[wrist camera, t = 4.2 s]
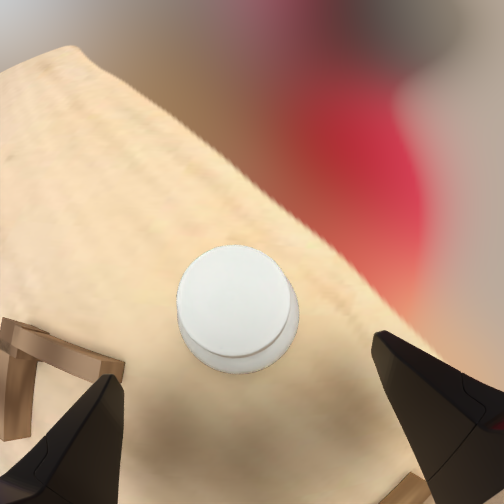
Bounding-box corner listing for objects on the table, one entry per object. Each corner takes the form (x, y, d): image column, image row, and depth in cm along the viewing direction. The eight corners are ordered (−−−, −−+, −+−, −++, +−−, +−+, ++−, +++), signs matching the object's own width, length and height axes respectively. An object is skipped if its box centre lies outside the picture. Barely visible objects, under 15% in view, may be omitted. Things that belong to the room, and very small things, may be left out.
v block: (132, 375, 18) (109, 376, 15) (24, 440, 15) (-2, 444, 12) (85, 282, 20) (60, 267, 17) (-10, 358, 18) (-36, 354, 14)
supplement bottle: (270, 380, 18) (284, 399, 9) (191, 354, 19) (135, 345, 10) (295, 302, 20) (327, 251, 11) (218, 278, 20) (189, 211, 11)
